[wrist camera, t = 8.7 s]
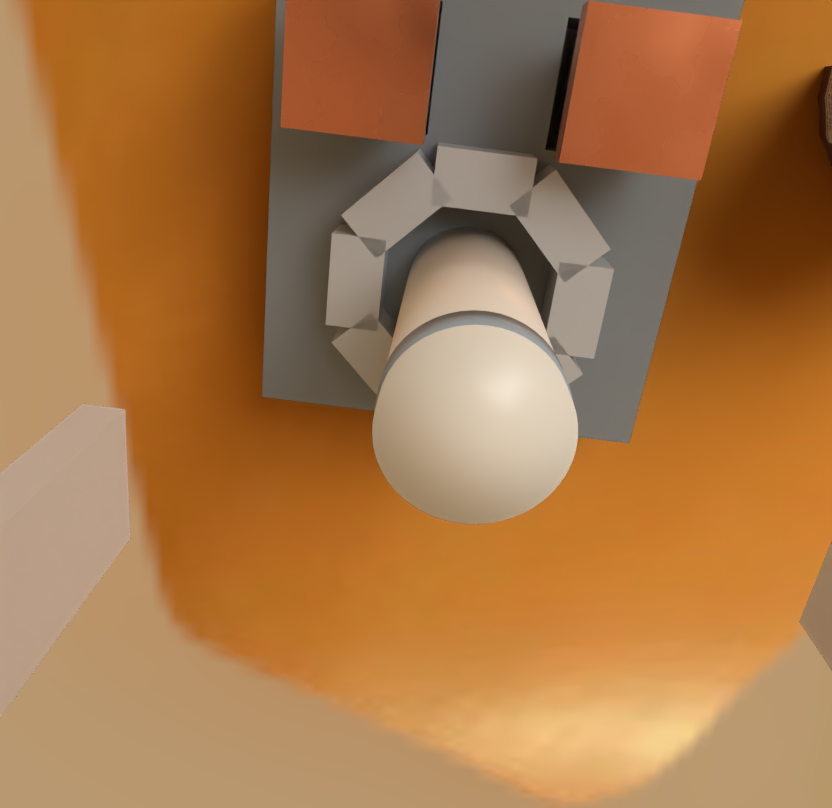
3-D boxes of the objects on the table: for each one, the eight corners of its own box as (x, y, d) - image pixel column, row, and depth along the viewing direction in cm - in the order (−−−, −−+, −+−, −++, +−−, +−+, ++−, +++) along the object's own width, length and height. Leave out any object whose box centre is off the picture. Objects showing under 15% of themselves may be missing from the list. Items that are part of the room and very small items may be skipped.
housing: (305, -37, 29) (264, -73, 23) (699, 13, 30) (767, -8, 23) (286, 358, 36) (250, 415, 30) (606, 398, 36) (639, 465, 30)
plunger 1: (323, -10, 28) (287, -38, 22) (444, 6, 28) (441, -19, 22) (316, 119, 30) (280, 127, 23) (429, 134, 30) (422, 145, 23)
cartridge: (413, 217, 28) (380, 323, 15) (534, 233, 28) (600, 351, 15) (400, 333, 30) (361, 512, 17) (513, 347, 30) (558, 537, 17)
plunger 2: (559, 20, 28) (588, 0, 22) (678, 36, 28) (742, 20, 22) (537, 147, 30) (559, 162, 23) (649, 162, 30) (701, 180, 23)
